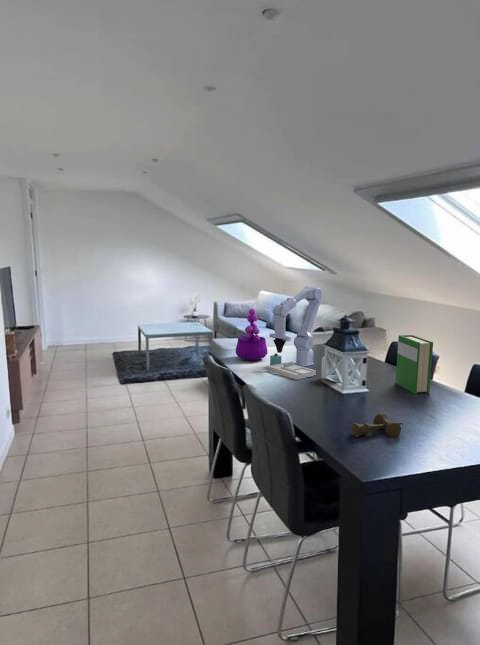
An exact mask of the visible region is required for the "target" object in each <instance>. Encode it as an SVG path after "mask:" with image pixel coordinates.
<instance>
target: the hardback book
mask: <svg viewBox="0 0 480 645" xmlns="http://www.w3.org/2000/svg"><path fill="white" fill-rule="evenodd" d="M397 339H398V340H397V353H396V354H397V355H396V373H395V384H396V385H398V386H400V387H401V388H403V389H405V390H406V391H408V392H410V393H411V394H414V395H417V393H426V394H430V389H431V379H432V378H431V376H432V375H431V374H432V364H433V351H434V350H433V349H434V341H432V340H429V339H425V338H423V337H419V336H417V335H414V334H398V338H397Z"/></svg>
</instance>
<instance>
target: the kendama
mask: <svg viewBox="0 0 480 645" xmlns="http://www.w3.org/2000/svg"><path fill="white" fill-rule="evenodd" d="M402 425H403V422H394V421H393V422H392V421H389V416H388V415H387V414H385V413H377V414H376V415H374V418H373V421H372V424H369V423H366V422H362V423H361V424H360V423H356V422H353V423H352V424H351V425H350V431H351V434H352V437H355V438H359V437H360V436H361V435H365V436H368V435H369V433H372V432H373V431H378V430H382V429H384V430H385V431H386V434H387V436H388V437H389V438H396V437H398V436H399V435H400V433H401V431H402Z"/></svg>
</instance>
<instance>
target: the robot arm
mask: <svg viewBox="0 0 480 645" xmlns="http://www.w3.org/2000/svg"><path fill="white" fill-rule="evenodd" d="M322 297H323V291H322V289H321V288H320V287H313V286H308V285H307V286H304V287H302V288H301V290H300V291H299V292H298V293H297V294H295V295H294V296H293V297H287V298H286V300H284V301H283V302H280V304H276V305H275V306H274V307H273V309H272V314H273V315H274V316H273V318H274V333H269V336H268V337H269V338H272V340H273V341H272V342H273V343H274V346H275V347H276V348H275V350H276V352H277V354H278V353H279V354H281V353H282V352H283V349H284V346H285V344H286V343H287V342H291V341H292V340H291V338H292V337H289V336H287V335H286V320H287V316H288V315H289V313H290V311H291V310H293V309H294V308H296V306H297V304H298V303H299V302H301V301H303V300H304V299H305V300H306V301H307V303H308V304H309V305H308V309H307V312H306V316H305V318H304V322H303V325H302V328H301V331H299V332H297V333H296V336H295V337H294V339H293V345H294V347H295V350H296V352H295V353H296V355H295V358H296V359H295V362H293V364H294V365H297V366H301V367H308V366H312V365H315V363H314V351H313V349H312V348H313V345H314V344H313V342H314V336H313V335H312V331H313V328H314V325H315V322H316V319H317V318H316V317H317V315H318V311H319V308H320V305H321V300H322Z"/></svg>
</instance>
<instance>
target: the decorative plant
mask: <svg viewBox="0 0 480 645" xmlns="http://www.w3.org/2000/svg"><path fill="white" fill-rule="evenodd" d="M248 314H249V315H248V316H247V317H246V320H247V322H248V323H249V325H247V326H246V327H245V329H244V332H245V333H244V334H245V335H243V336H239V337H238V338H237V344H236V347H235V354H236V356H237V357H238V358H239V359H242V360H246V361H257V360H258V361H259V360H261V359H264V358H266V356H267V355H268V347H267V342H266V337H264V336H259V334H260V333H261V332H260V329H259V328H258V325H257V324H256V323H255V322H257V321H258V320H259V317H258V316H257V315H256V310H255V309H254V308H250V309H249V310H248Z"/></svg>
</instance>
